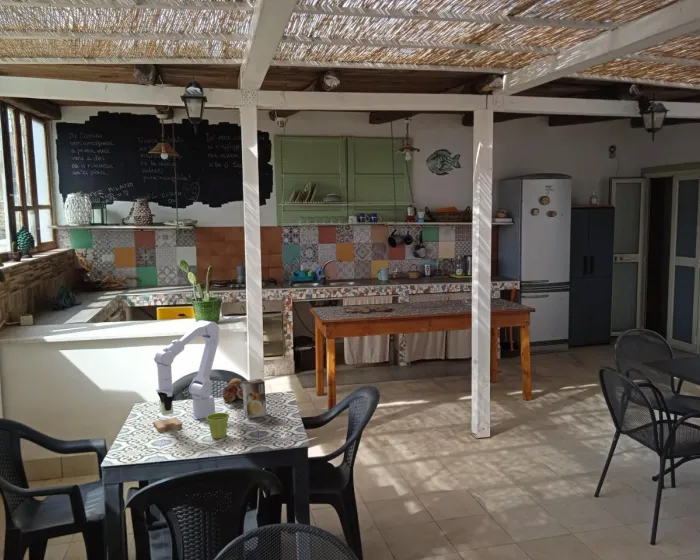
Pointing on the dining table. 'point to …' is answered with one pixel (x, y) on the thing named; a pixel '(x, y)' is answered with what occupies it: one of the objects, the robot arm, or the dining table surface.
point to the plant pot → (218, 424)
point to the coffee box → (254, 398)
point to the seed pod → (233, 390)
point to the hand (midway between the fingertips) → (166, 408)
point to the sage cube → (165, 410)
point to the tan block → (167, 424)
